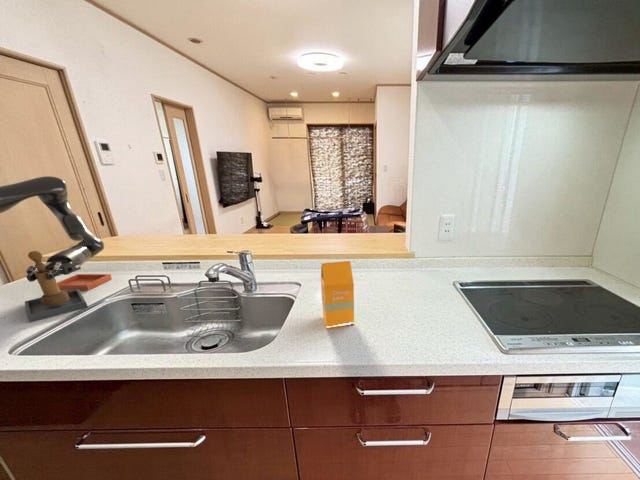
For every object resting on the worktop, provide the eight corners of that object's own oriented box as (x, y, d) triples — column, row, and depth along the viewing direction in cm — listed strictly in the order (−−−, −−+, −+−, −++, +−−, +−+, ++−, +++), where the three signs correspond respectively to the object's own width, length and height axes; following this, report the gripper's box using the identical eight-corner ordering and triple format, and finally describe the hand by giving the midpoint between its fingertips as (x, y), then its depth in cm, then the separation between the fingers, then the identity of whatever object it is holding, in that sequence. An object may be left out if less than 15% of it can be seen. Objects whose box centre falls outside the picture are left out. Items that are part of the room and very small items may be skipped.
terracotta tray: (52, 290, 113) (50, 285, 113) (79, 278, 124) (77, 274, 123) (88, 290, 114) (86, 285, 113) (112, 278, 124) (110, 274, 124)
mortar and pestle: (69, 295, 105) (48, 247, 98) (70, 301, 101) (48, 251, 94) (42, 301, 101) (18, 251, 94) (42, 308, 96) (17, 256, 89)
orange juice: (354, 325, 92) (353, 265, 85) (326, 329, 90) (323, 268, 82) (348, 313, 99) (347, 257, 92) (322, 316, 97) (319, 259, 89)
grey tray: (27, 306, 101) (24, 301, 100) (80, 294, 111) (78, 288, 110) (30, 322, 92) (27, 316, 91) (87, 307, 101) (85, 301, 100)
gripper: (38, 253, 105) (3, 269, 91) (87, 249, 110) (62, 264, 95) (46, 272, 108) (14, 291, 93) (94, 268, 113) (71, 285, 98)
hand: (38, 277), depth 94 cm, fingers closed on mortar and pestle, 4 cm apart
